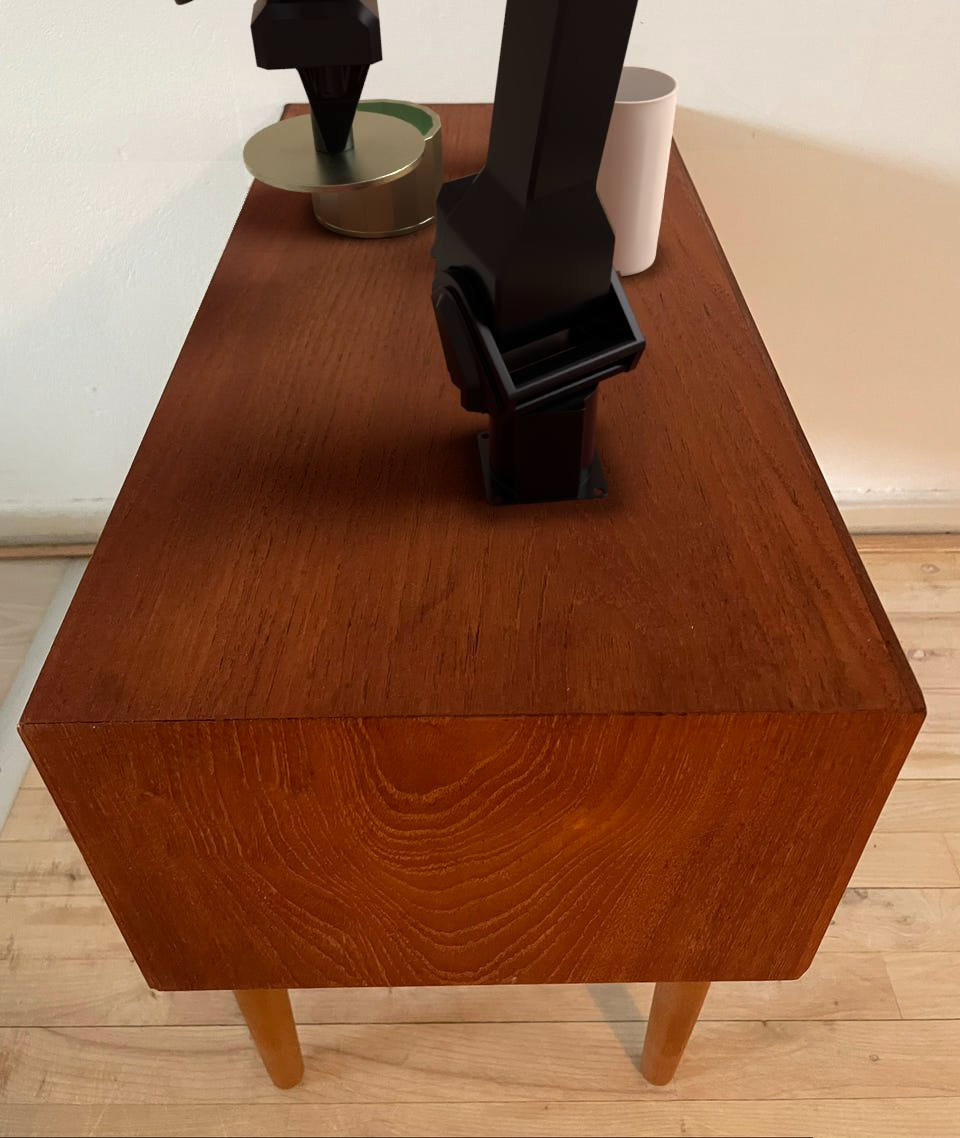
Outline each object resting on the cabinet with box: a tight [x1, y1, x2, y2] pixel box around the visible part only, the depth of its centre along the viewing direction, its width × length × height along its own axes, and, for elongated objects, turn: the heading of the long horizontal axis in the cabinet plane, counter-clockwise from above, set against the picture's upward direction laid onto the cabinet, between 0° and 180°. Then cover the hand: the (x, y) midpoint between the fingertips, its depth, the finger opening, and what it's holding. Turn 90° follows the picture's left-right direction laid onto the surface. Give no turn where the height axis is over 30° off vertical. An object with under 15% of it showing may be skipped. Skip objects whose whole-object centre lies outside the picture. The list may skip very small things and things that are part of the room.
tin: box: [310, 98, 445, 239], centre depth 77 cm, size 10×10×6 cm
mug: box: [597, 64, 680, 277], centre depth 69 cm, size 10×7×12 cm, turn 86°
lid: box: [242, 102, 425, 194], centre depth 60 cm, size 11×11×5 cm
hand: (335, 141), depth 61 cm, fingers closed on lid, 2 cm apart
